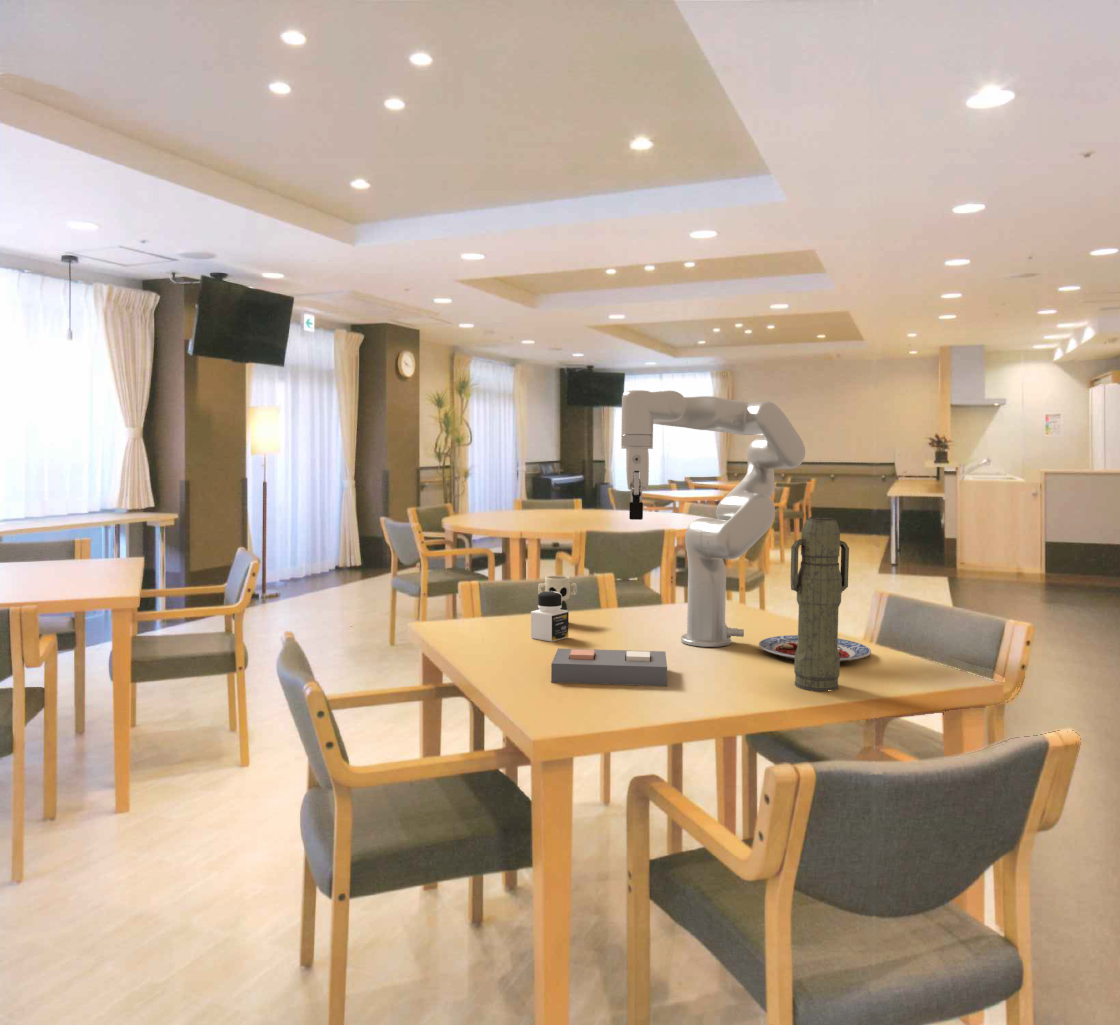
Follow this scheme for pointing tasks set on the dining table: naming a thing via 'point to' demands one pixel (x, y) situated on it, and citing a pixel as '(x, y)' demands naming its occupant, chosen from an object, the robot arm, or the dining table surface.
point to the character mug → (559, 587)
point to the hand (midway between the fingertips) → (636, 519)
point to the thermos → (818, 602)
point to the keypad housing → (609, 668)
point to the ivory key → (638, 656)
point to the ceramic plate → (789, 644)
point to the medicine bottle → (549, 618)
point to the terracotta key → (582, 654)
